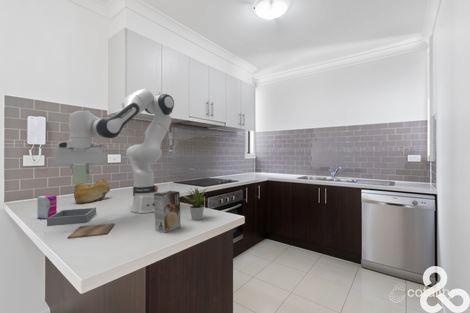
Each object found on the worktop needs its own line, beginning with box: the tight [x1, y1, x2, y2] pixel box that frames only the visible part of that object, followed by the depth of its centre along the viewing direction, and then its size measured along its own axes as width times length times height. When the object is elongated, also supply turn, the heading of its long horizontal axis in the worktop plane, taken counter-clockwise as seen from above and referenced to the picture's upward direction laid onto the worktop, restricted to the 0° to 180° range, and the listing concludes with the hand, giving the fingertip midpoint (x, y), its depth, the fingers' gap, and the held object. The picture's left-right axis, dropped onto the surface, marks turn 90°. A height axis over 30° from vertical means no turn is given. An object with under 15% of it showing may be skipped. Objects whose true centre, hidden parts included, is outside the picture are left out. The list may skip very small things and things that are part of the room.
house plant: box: [181, 187, 210, 221], centre depth 114 cm, size 14×14×16 cm
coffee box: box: [154, 190, 181, 234], centre depth 98 cm, size 9×6×16 cm
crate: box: [46, 207, 97, 227], centre depth 114 cm, size 16×16×4 cm
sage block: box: [72, 163, 90, 182], centre depth 105 cm, size 5×5×8 cm
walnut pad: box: [67, 222, 116, 239], centre depth 97 cm, size 14×14×1 cm
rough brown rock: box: [73, 178, 111, 204], centre depth 161 cm, size 23×17×15 cm
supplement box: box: [36, 194, 58, 220], centre depth 118 cm, size 6×6×12 cm
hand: (81, 173), depth 105 cm, fingers closed on sage block, 5 cm apart
